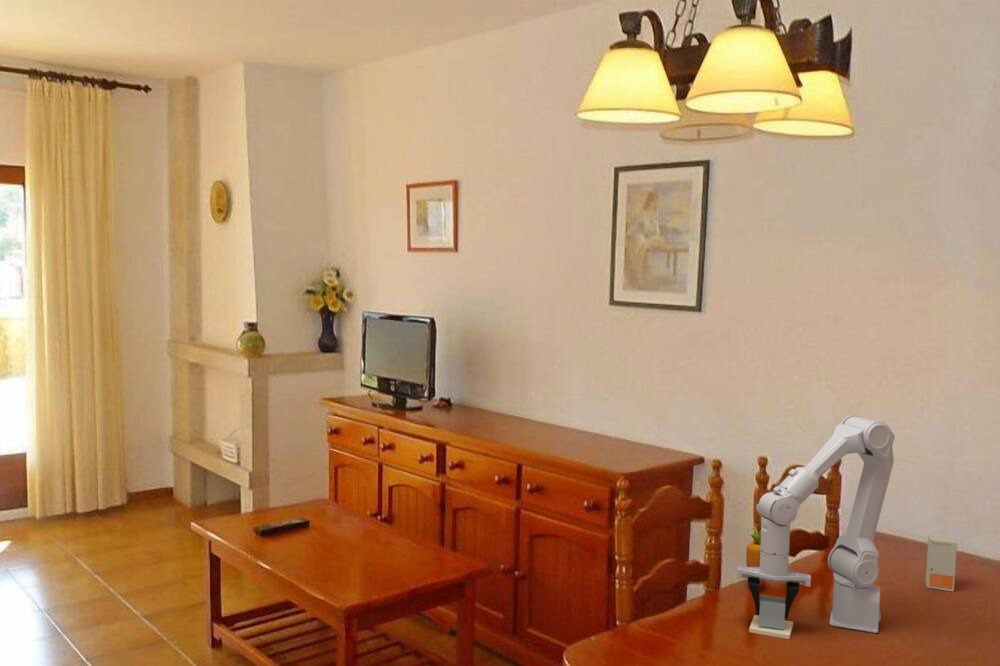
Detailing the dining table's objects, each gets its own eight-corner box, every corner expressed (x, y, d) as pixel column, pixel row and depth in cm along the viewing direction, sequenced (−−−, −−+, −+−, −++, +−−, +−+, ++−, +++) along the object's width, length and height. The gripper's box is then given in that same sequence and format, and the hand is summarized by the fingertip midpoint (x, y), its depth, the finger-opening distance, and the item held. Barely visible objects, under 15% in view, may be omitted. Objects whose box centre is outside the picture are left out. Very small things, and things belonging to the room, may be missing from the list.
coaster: (793, 625, 188) (793, 621, 188) (789, 639, 180) (789, 635, 180) (754, 618, 191) (754, 615, 191) (749, 632, 183) (749, 628, 183)
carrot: (767, 595, 205) (770, 531, 204) (745, 593, 206) (748, 530, 205) (765, 588, 210) (768, 526, 209) (743, 586, 211) (746, 524, 210)
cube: (783, 620, 187) (785, 597, 187) (784, 629, 182) (785, 605, 182) (759, 617, 189) (760, 594, 188) (758, 625, 184) (760, 602, 184)
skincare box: (926, 588, 212) (929, 539, 212) (925, 583, 216) (927, 534, 216) (954, 592, 210) (957, 542, 209) (953, 586, 214) (955, 538, 213)
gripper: (810, 549, 186) (807, 612, 187) (739, 542, 190) (736, 604, 191) (812, 559, 179) (809, 625, 180) (738, 551, 184) (735, 615, 184)
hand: (771, 615), depth 185 cm, fingers closed on cube, 5 cm apart
